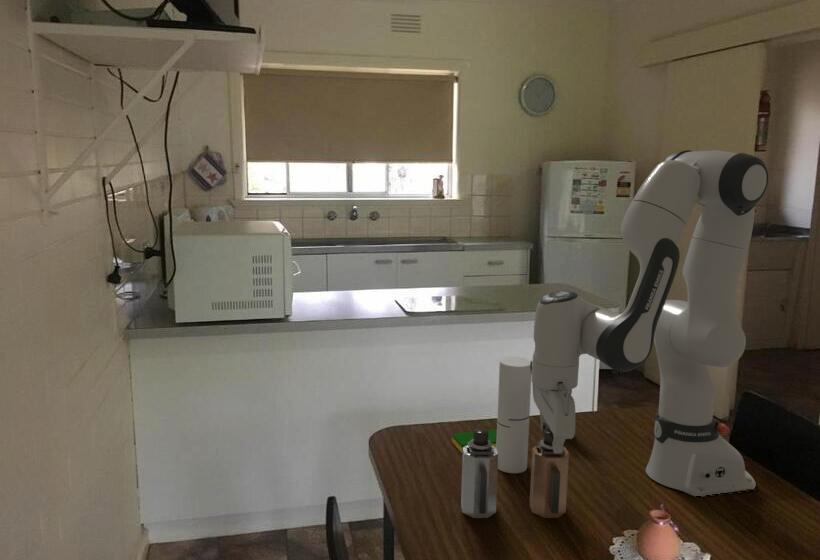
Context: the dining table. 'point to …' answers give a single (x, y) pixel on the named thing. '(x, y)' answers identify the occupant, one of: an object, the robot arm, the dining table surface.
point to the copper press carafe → (548, 482)
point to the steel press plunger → (480, 440)
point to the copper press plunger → (547, 440)
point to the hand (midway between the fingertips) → (551, 441)
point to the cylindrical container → (513, 414)
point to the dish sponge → (463, 439)
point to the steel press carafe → (479, 482)
